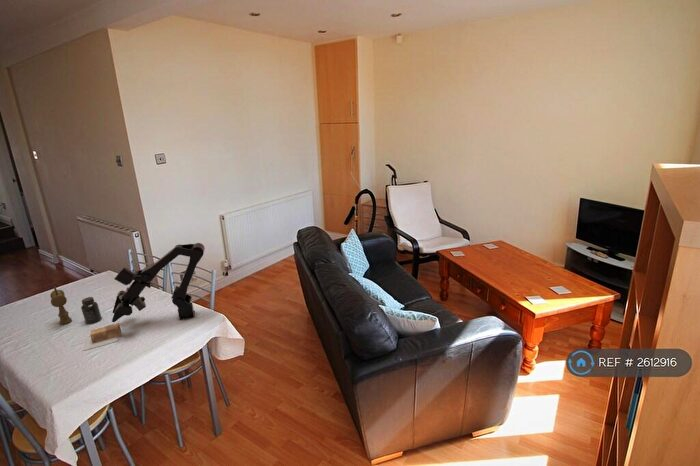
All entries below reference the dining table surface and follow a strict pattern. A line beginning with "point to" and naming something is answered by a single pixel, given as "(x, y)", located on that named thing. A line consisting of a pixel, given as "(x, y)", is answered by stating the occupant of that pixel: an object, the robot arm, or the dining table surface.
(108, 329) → the walnut block
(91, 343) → the felt pad
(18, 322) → the dining table surface
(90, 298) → the supplement bottle
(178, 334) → the dining table surface
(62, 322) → the kendama
